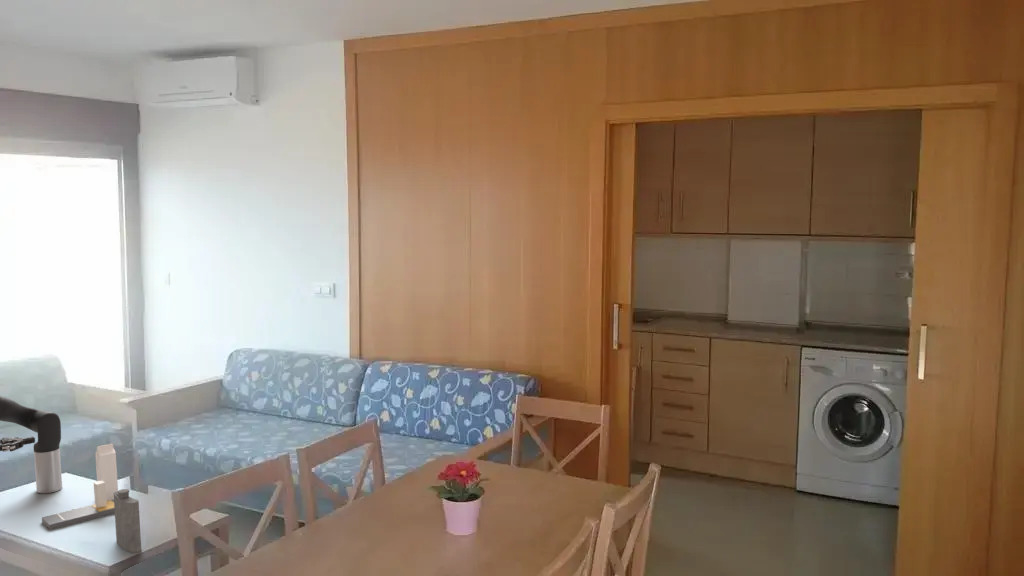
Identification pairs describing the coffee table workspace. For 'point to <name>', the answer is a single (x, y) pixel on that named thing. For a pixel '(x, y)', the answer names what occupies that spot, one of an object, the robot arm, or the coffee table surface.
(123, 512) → the hip flask
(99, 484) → the block
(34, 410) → the robot arm
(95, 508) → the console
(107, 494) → the milk
